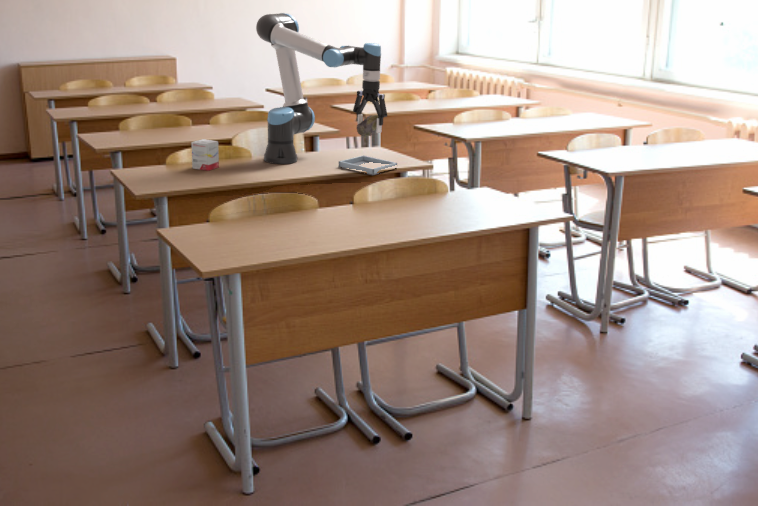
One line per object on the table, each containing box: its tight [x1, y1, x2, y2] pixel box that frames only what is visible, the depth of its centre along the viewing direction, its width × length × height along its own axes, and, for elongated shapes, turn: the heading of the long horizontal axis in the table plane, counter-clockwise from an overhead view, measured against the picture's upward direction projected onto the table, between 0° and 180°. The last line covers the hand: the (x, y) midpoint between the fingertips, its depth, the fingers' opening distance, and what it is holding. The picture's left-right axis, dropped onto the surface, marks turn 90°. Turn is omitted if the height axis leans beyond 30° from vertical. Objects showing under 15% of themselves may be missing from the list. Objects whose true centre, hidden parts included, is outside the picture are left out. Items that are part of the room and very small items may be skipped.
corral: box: [338, 155, 398, 176], centre depth 376 cm, size 20×18×3 cm
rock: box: [356, 114, 378, 137], centre depth 370 cm, size 11×10×10 cm
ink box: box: [190, 138, 220, 171], centre depth 362 cm, size 9×9×12 cm
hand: (369, 130), depth 371 cm, fingers closed on rock, 10 cm apart
